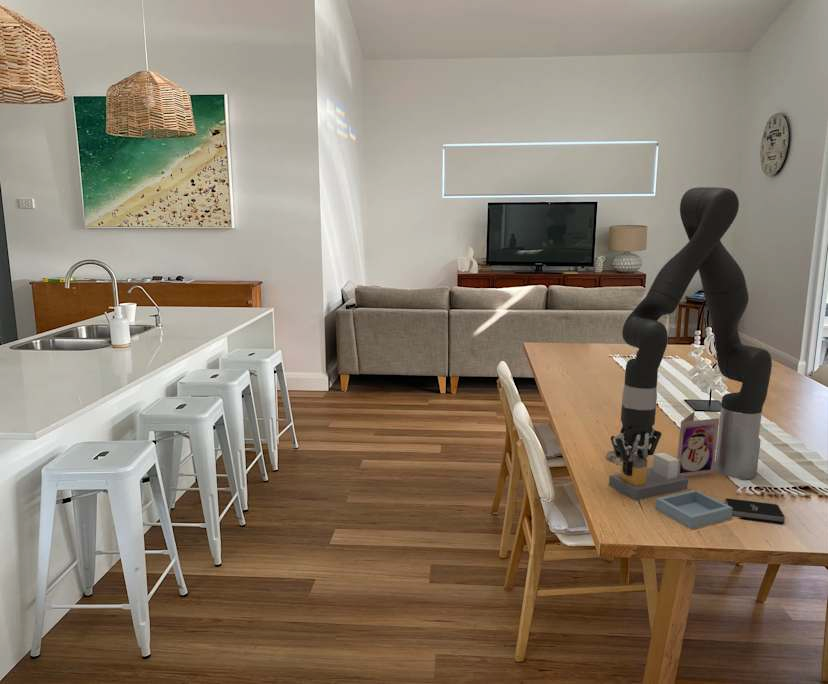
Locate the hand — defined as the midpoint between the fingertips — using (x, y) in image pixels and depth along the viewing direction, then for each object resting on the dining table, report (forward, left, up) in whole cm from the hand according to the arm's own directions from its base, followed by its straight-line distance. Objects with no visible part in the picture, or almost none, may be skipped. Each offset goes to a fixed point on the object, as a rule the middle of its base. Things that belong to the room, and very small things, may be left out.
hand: (633, 473), depth 152 cm
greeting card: (-22, -4, -5) cm, 23 cm away
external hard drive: (-17, +19, -5) cm, 26 cm away
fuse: (-10, 0, -4) cm, 11 cm away
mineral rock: (-12, -15, -5) cm, 20 cm away
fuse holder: (-5, 0, -5) cm, 7 cm away
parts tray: (-4, +15, -5) cm, 16 cm away
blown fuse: (0, 0, -3) cm, 3 cm away
